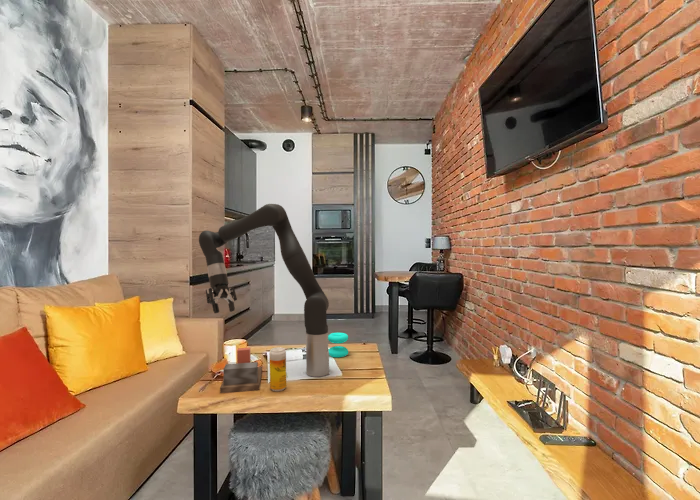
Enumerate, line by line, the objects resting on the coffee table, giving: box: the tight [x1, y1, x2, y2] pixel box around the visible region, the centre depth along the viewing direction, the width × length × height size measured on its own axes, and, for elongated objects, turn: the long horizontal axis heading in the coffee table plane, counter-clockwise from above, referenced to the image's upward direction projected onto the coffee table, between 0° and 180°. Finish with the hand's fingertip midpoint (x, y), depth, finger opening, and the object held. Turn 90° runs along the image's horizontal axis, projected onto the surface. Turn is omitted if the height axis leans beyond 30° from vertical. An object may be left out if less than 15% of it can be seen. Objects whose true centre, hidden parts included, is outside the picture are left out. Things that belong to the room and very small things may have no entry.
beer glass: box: [269, 346, 287, 392], centre depth 140 cm, size 6×6×15 cm
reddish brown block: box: [236, 347, 252, 363], centre depth 153 cm, size 5×3×9 cm, turn 100°
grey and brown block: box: [219, 361, 263, 394], centre depth 147 cm, size 14×20×8 cm
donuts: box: [328, 332, 349, 358], centre depth 179 cm, size 10×10×10 cm
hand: (224, 312), depth 156 cm, fingers open, 8 cm apart
